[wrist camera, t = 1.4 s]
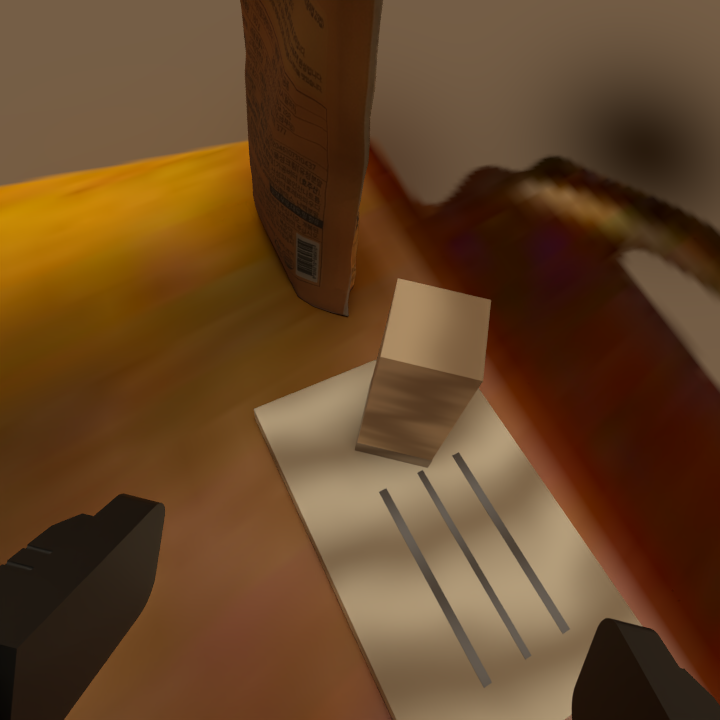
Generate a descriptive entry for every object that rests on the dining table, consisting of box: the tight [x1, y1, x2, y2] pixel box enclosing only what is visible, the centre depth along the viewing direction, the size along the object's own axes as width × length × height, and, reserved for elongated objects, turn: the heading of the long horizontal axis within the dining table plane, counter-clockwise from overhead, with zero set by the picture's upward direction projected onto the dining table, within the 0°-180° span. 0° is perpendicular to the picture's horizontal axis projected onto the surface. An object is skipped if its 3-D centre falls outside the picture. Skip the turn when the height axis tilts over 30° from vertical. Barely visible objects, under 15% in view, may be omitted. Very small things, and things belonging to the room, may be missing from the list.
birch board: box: [254, 360, 642, 720], centre depth 31 cm, size 22×14×2 cm, turn 28°
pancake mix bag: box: [240, 0, 383, 316], centre depth 30 cm, size 7×19×28 cm, turn 24°
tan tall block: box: [355, 278, 491, 468], centre depth 28 cm, size 5×5×11 cm
